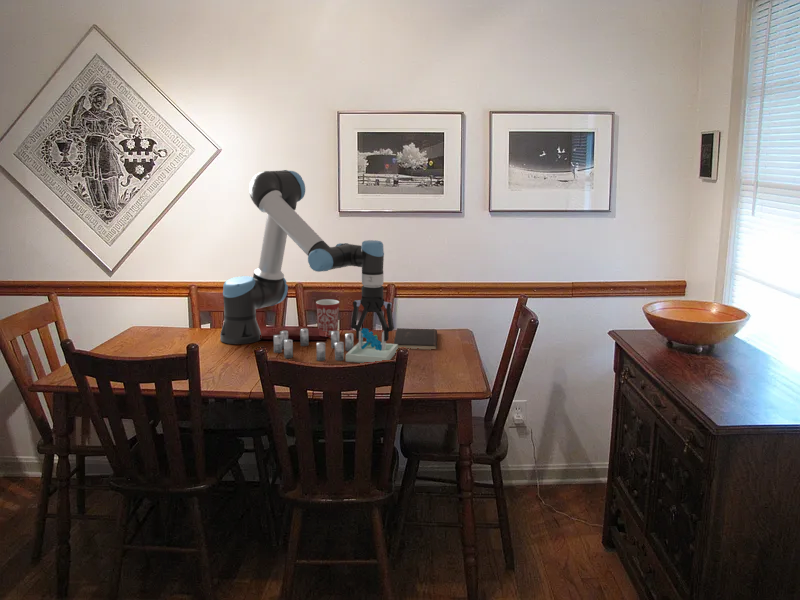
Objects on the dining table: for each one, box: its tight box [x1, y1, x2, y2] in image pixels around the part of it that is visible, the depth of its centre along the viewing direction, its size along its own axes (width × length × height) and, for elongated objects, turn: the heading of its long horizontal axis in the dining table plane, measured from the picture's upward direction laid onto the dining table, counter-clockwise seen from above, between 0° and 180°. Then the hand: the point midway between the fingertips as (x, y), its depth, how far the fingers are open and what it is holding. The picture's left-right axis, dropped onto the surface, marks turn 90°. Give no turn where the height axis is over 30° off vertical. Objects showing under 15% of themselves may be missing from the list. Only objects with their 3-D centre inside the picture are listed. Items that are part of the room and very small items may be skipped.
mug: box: [315, 298, 340, 339], centre depth 282 cm, size 13×9×14 cm
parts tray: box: [345, 341, 399, 364], centre depth 255 cm, size 14×17×2 cm
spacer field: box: [272, 327, 354, 362], centre depth 259 cm, size 27×19×6 cm
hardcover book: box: [393, 327, 438, 350], centre depth 276 cm, size 16×23×2 cm
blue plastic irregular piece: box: [361, 327, 382, 351], centre depth 255 cm, size 11×6×10 cm
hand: (372, 348), depth 255 cm, fingers closed on blue plastic irregular piece, 8 cm apart
